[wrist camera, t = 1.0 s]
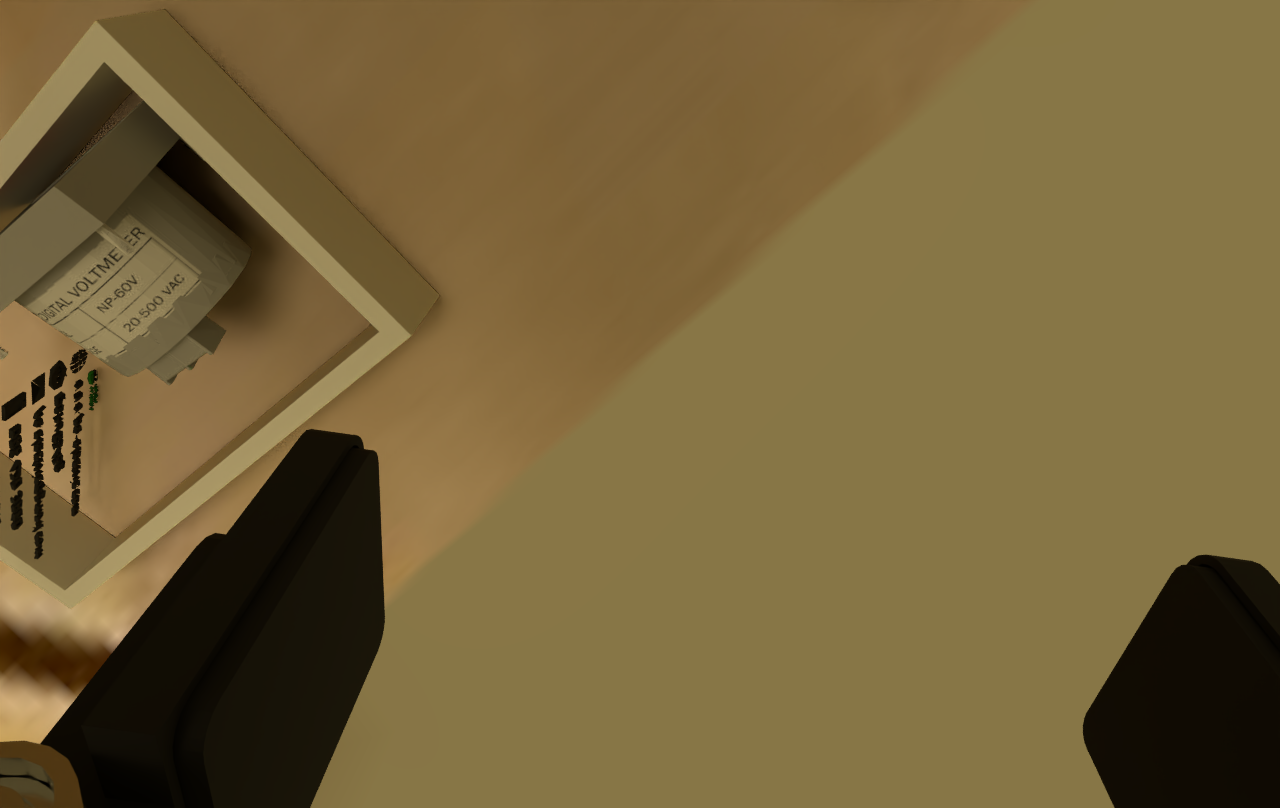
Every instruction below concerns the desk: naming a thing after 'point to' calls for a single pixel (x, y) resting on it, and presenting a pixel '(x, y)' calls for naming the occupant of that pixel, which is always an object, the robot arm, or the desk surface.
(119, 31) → the tool caddy
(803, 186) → the desk surface
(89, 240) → the voltmeter
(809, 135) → the desk surface
